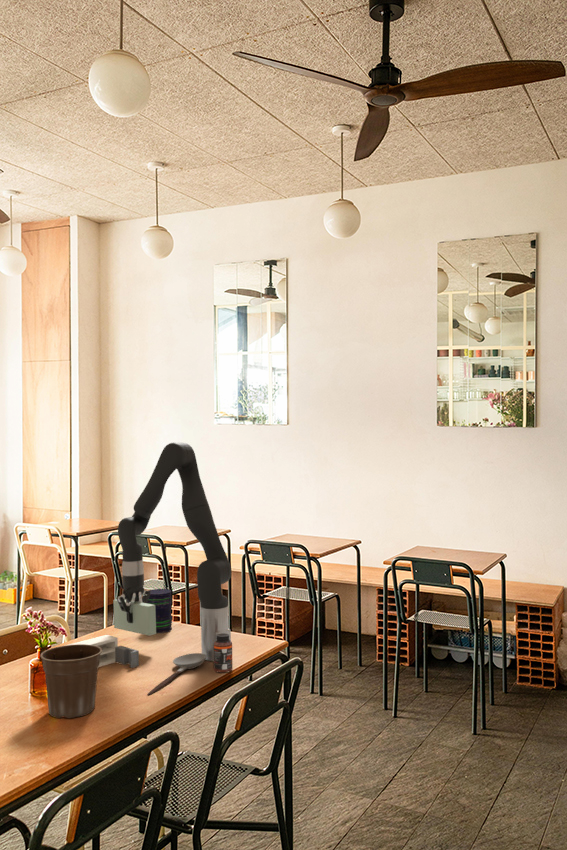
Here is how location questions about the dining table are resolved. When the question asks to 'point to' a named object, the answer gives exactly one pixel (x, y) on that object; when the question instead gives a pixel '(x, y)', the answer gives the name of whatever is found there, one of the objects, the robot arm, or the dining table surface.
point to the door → (136, 618)
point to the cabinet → (113, 651)
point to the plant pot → (71, 679)
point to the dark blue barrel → (162, 609)
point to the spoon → (181, 667)
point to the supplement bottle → (223, 653)
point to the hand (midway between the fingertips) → (134, 621)
